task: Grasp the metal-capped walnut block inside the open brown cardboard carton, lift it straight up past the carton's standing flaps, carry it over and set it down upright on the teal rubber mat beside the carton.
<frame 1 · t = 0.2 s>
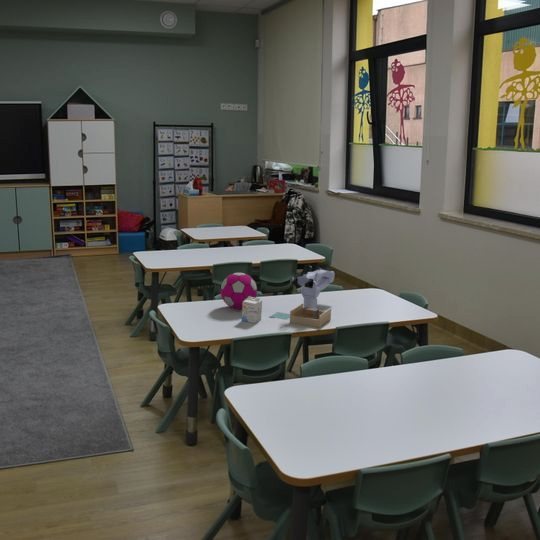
hand: (298, 284, 387), 21 cm above the table, tool horizontal, fingers open, 7 cm apart
soccer ball: (238, 308, 411), on the table
walnut block: (310, 320, 390), resting on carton
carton: (310, 321, 390), on the table
teal mat: (282, 316, 397), on the table
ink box: (251, 320, 388), on the table
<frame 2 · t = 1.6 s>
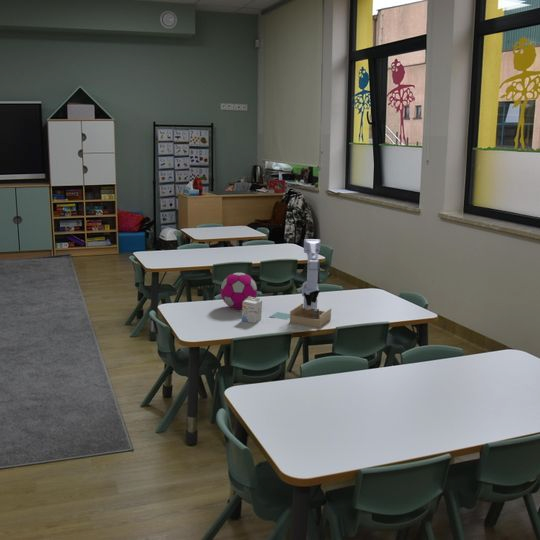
hand: (311, 303, 388), 10 cm above the table, tool pointing down, fingers open, 7 cm apart
nothing on the table moved.
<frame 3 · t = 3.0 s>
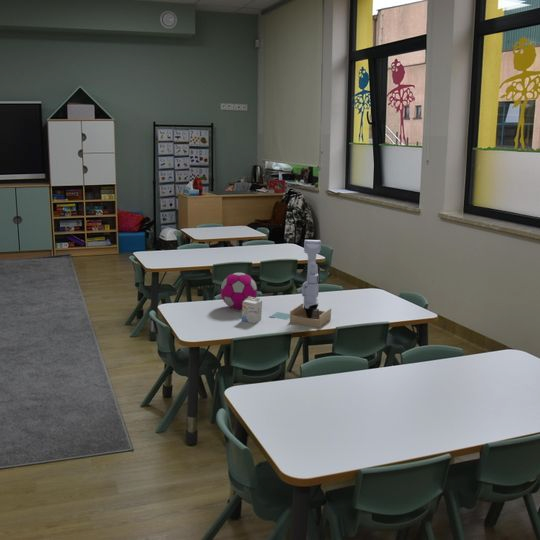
hand: (310, 317, 389), 2 cm above the table, tool pointing down, fingers closed on walnut block, 4 cm apart
walnut block: (310, 320, 390), resting on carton, touching gripper
everything else where it was.
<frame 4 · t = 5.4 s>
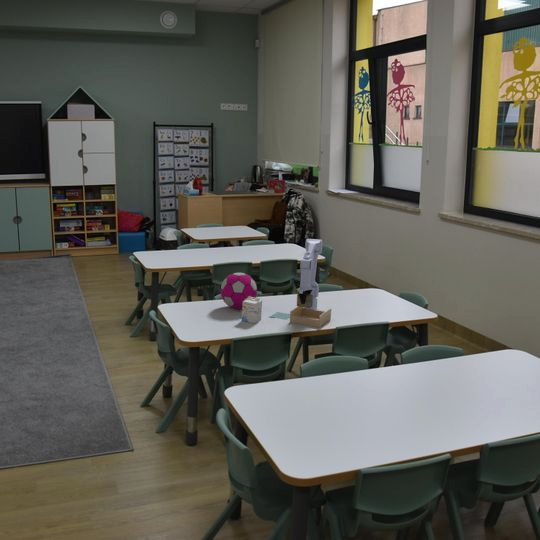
hand: (304, 302, 389), 10 cm above the table, tool pointing down, fingers closed on walnut block, 4 cm apart
walnut block: (304, 306, 390), point 8 cm above the table, touching gripper
everything else where it was.
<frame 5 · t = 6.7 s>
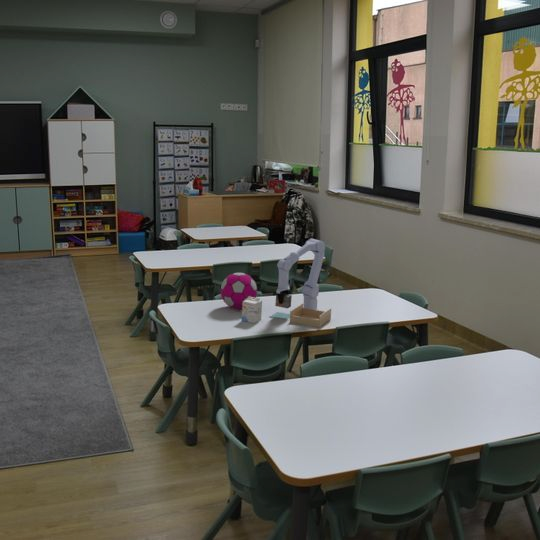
hand: (282, 302, 395), 8 cm above the table, tool pointing down, fingers closed on walnut block, 4 cm apart
walnut block: (283, 306, 396), point 6 cm above the table, touching gripper
everything else where it was.
when the fingers open (4 cm above the table, at t = 7.9 s): walnut block drops 1 cm, resting on teal mat.
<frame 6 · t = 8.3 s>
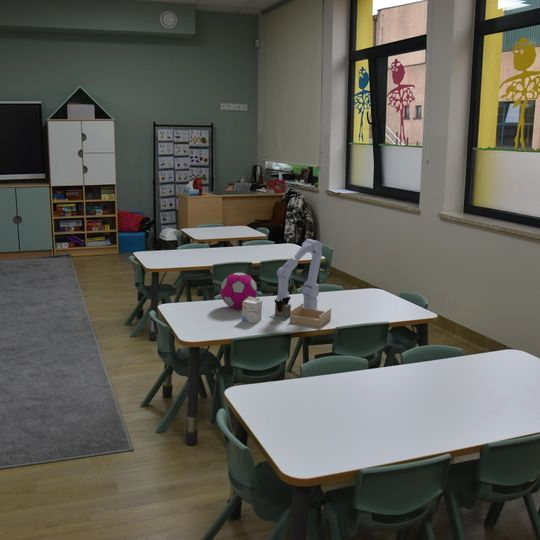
hand: (282, 310, 396), 4 cm above the table, tool pointing down, fingers open, 7 cm apart
walnut block: (282, 315, 397), resting on teal mat
everything else where it was.
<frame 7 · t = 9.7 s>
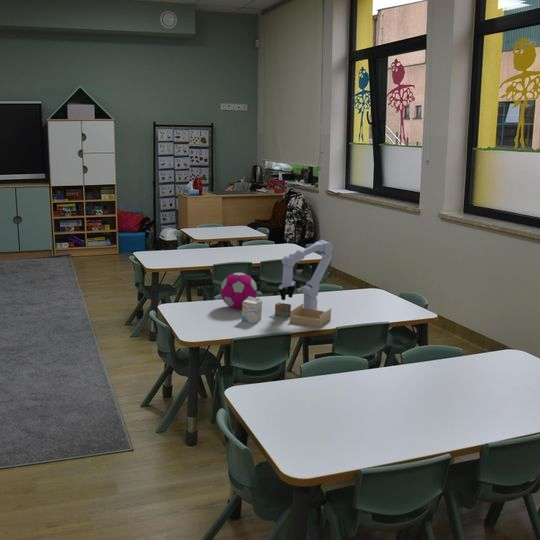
hand: (286, 298, 400), 9 cm above the table, tool pointing down, fingers open, 7 cm apart
nothing on the table moved.
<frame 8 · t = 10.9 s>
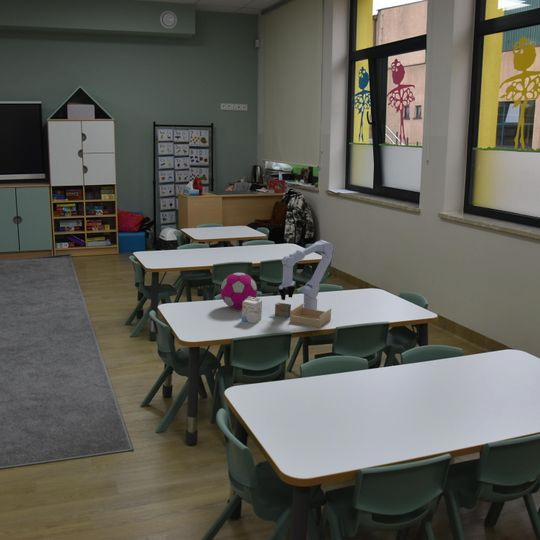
hand: (286, 298, 400), 9 cm above the table, tool pointing down, fingers open, 7 cm apart
nothing on the table moved.
at the end: walnut block inside the target area (0.4 cm from its centre), resting on teal mat; walnut block tilted 0°; the gripper is holding nothing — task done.
